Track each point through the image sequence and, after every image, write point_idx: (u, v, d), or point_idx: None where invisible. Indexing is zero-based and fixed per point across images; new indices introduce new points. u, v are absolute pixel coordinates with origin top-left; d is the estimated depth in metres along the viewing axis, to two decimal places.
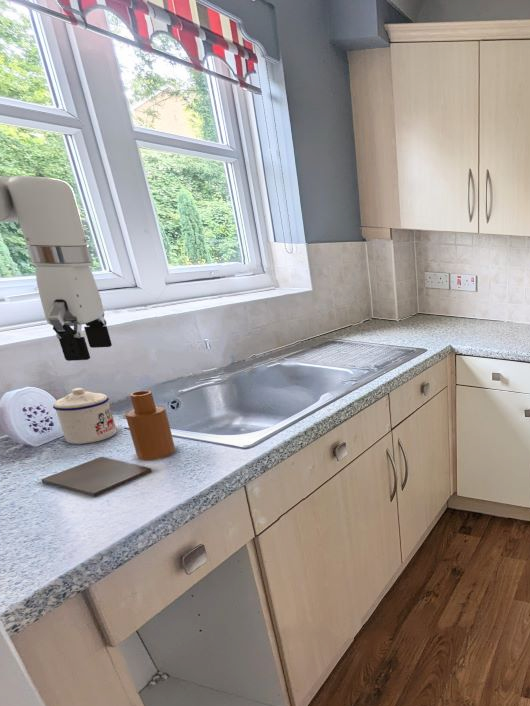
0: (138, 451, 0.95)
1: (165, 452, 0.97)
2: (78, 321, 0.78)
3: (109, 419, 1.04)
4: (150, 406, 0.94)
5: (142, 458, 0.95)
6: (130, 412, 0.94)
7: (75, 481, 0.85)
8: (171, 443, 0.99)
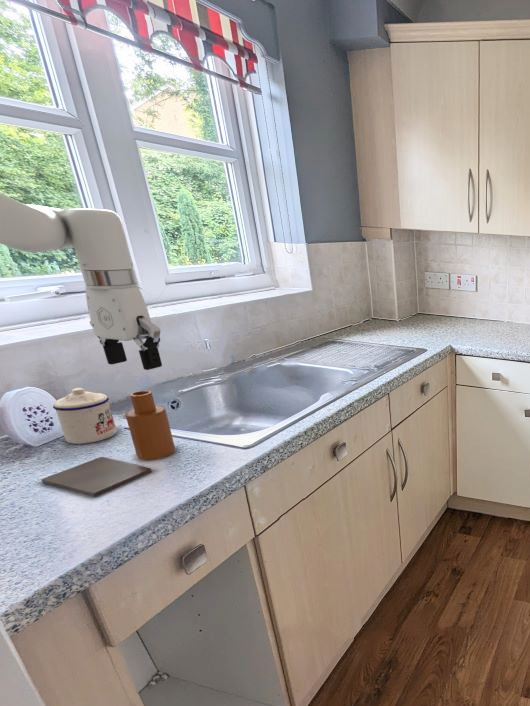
0: (138, 451, 0.95)
1: (165, 452, 0.97)
2: None
3: (109, 419, 1.04)
4: (150, 406, 0.94)
5: (142, 458, 0.95)
6: (130, 412, 0.94)
7: (75, 481, 0.85)
8: (171, 443, 0.99)
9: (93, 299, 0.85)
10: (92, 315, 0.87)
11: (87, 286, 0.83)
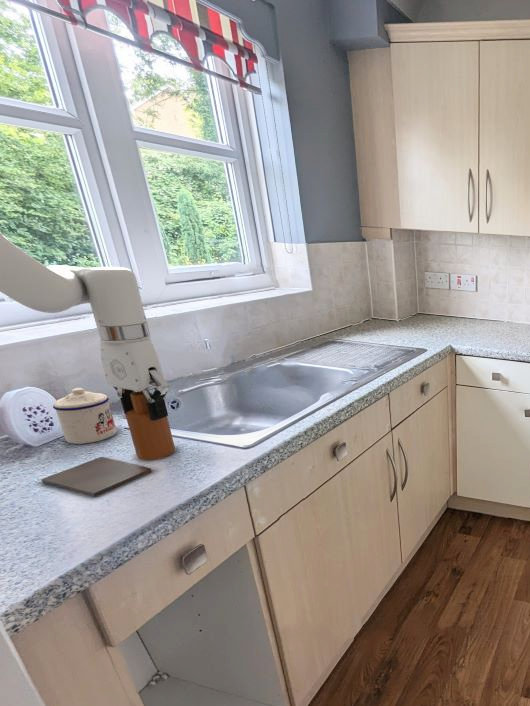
0: (138, 451, 0.95)
1: (165, 452, 0.97)
2: None
3: (109, 419, 1.04)
4: None
5: (142, 458, 0.95)
6: (130, 412, 0.94)
7: (75, 481, 0.85)
8: (171, 443, 0.99)
9: (107, 352, 0.89)
10: (106, 366, 0.90)
11: (102, 340, 0.87)
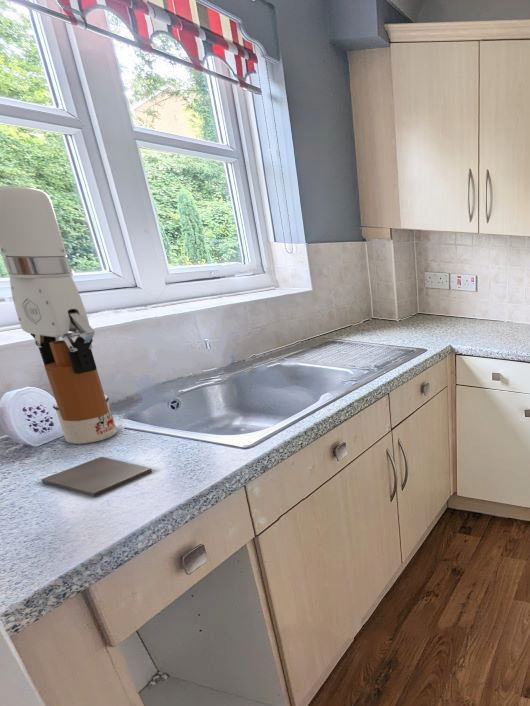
0: (61, 410, 0.82)
1: (94, 412, 0.84)
2: None
3: (109, 419, 1.04)
4: None
5: (66, 419, 0.82)
6: (51, 364, 0.81)
7: (75, 481, 0.85)
8: (102, 403, 0.85)
9: (18, 289, 0.75)
10: (18, 308, 0.77)
11: (9, 274, 0.73)
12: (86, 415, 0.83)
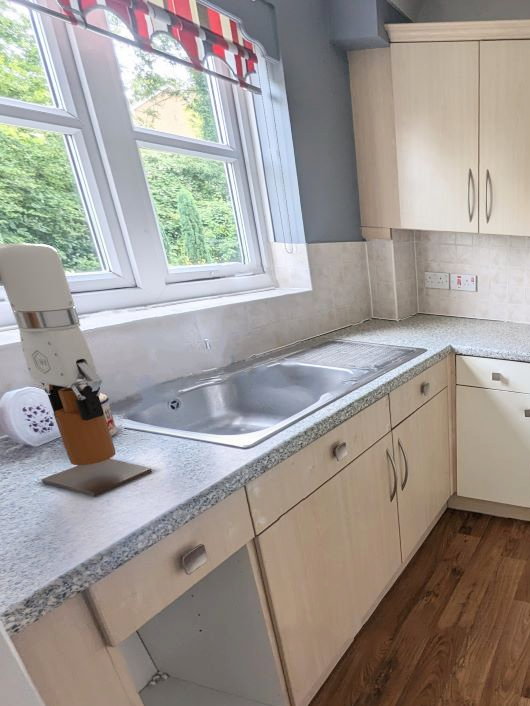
0: (70, 455, 0.84)
1: (102, 456, 0.86)
2: None
3: (109, 419, 1.04)
4: None
5: (75, 463, 0.84)
6: (59, 411, 0.83)
7: (75, 481, 0.85)
8: (110, 446, 0.87)
9: (27, 341, 0.77)
10: (28, 358, 0.79)
11: (19, 328, 0.75)
12: (94, 459, 0.85)
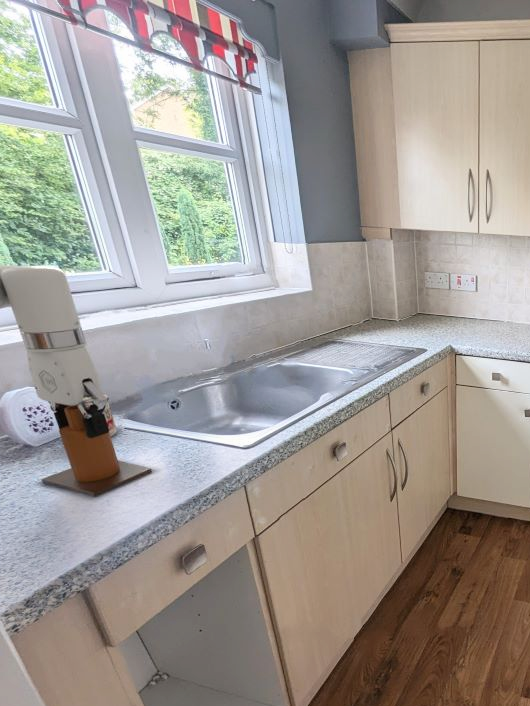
0: (75, 472, 0.85)
1: (106, 472, 0.87)
2: None
3: (109, 419, 1.04)
4: None
5: (79, 479, 0.85)
6: (65, 428, 0.84)
7: (75, 481, 0.85)
8: (114, 462, 0.88)
9: (34, 361, 0.78)
10: (35, 378, 0.80)
11: (27, 349, 0.76)
12: (98, 475, 0.86)
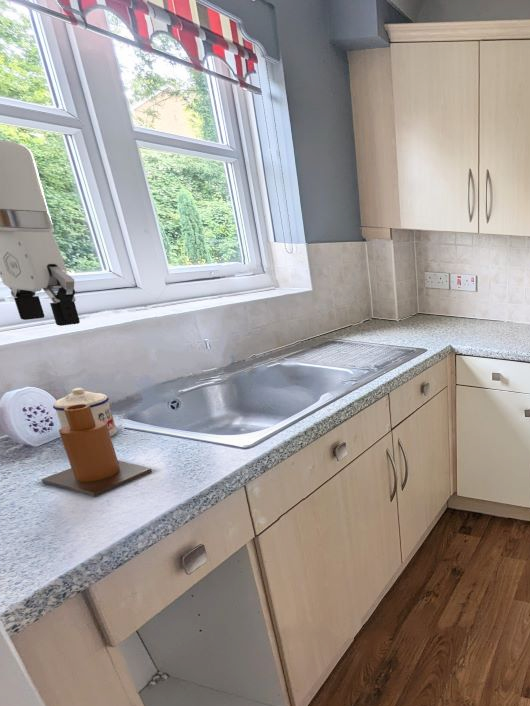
0: (75, 472, 0.85)
1: (106, 472, 0.87)
2: None
3: (109, 419, 1.04)
4: (88, 421, 0.84)
5: (79, 479, 0.85)
6: (65, 428, 0.84)
7: (75, 481, 0.85)
8: (114, 462, 0.88)
9: None
10: None
11: None
12: (98, 475, 0.86)
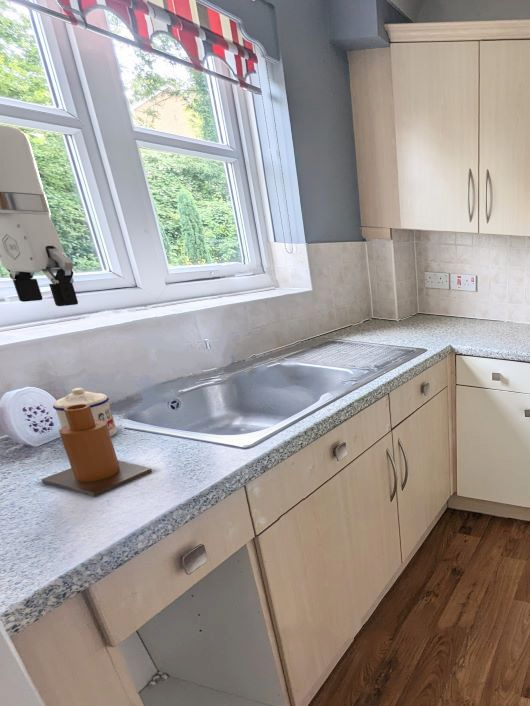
0: (75, 472, 0.85)
1: (106, 472, 0.87)
2: None
3: (109, 419, 1.04)
4: (88, 421, 0.84)
5: (79, 479, 0.85)
6: (65, 428, 0.84)
7: (75, 481, 0.85)
8: (114, 462, 0.88)
9: None
10: None
11: None
12: (98, 475, 0.86)
